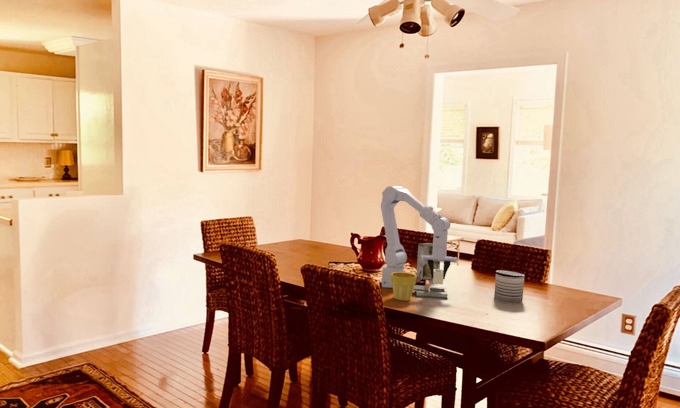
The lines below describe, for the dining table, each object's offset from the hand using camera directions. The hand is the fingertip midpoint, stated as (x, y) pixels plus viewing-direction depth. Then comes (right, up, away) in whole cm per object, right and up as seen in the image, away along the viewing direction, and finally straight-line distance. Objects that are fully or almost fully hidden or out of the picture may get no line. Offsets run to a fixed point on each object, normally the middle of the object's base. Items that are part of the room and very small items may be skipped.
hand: (437, 278), depth 234 cm
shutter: (-7, -5, +1) cm, 8 cm away
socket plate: (-3, -7, +1) cm, 7 cm away
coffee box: (+1, -4, +31) cm, 31 cm away
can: (+28, -9, -3) cm, 30 cm away
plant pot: (-16, -7, -7) cm, 19 cm away
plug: (0, -2, 0) cm, 2 cm away
